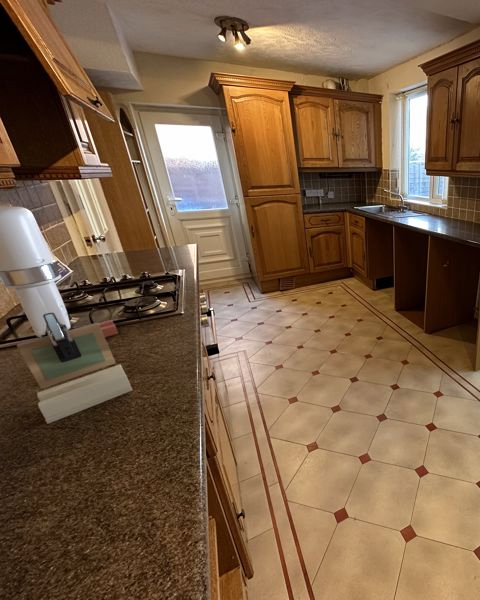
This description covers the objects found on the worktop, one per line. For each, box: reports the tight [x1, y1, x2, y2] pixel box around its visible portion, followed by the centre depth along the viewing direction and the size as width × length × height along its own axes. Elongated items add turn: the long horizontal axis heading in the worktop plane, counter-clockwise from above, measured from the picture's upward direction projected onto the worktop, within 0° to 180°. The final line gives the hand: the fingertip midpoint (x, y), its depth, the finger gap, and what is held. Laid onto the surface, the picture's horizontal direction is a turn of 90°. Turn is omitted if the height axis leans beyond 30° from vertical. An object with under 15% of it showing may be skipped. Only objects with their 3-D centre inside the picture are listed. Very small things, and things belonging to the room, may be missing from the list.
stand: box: [98, 319, 119, 338], centre depth 94 cm, size 8×14×4 cm, turn 138°
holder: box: [36, 364, 133, 425], centre depth 72 cm, size 8×14×4 cm, turn 138°
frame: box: [16, 322, 116, 390], centre depth 68 cm, size 2×12×10 cm, turn 138°
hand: (70, 356), depth 68 cm, fingers closed on frame, 1 cm apart
